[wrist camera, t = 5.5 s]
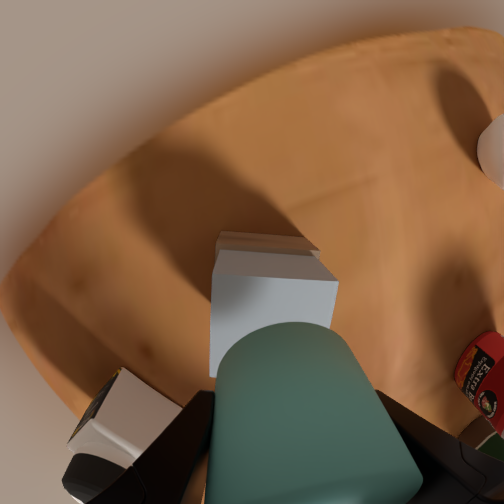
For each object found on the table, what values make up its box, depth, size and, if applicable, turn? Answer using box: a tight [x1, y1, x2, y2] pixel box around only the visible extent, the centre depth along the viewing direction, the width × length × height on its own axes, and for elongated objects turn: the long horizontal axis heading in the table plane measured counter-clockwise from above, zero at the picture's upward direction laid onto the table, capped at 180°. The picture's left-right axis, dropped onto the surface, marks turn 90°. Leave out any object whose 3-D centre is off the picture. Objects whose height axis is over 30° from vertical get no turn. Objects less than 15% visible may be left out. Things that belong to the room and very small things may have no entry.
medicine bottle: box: [62, 367, 183, 504], centre depth 16 cm, size 7×7×12 cm
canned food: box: [455, 331, 504, 439], centre depth 17 cm, size 8×8×11 cm
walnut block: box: [214, 231, 320, 266], centre depth 17 cm, size 6×6×4 cm
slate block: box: [210, 249, 339, 377], centre depth 13 cm, size 5×5×4 cm
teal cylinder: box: [204, 322, 423, 504], centre depth 6 cm, size 4×4×5 cm
